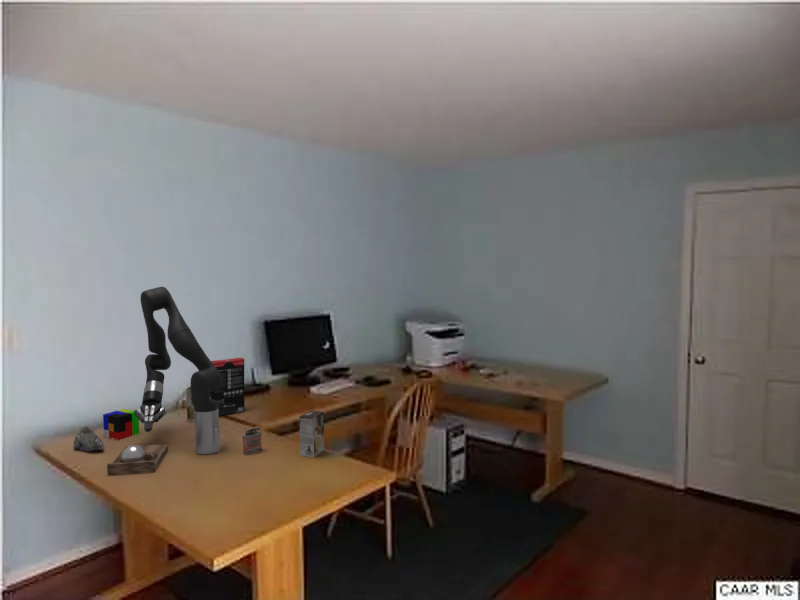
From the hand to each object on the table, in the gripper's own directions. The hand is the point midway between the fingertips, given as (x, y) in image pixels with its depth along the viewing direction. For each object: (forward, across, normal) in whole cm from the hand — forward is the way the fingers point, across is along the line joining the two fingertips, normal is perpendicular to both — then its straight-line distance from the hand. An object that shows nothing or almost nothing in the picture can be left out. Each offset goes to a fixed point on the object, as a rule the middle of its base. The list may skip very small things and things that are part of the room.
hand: (147, 431), depth 236 cm
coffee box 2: (+18, +65, -5) cm, 68 cm away
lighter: (+13, +42, -1) cm, 44 cm away
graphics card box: (-29, +26, +40) cm, 56 cm away
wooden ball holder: (+15, 0, -4) cm, 16 cm away
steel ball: (+15, -1, -9) cm, 18 cm away
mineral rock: (+3, -24, +9) cm, 26 cm away
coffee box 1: (-22, +14, +34) cm, 43 cm away
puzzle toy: (-10, -16, +22) cm, 29 cm away
